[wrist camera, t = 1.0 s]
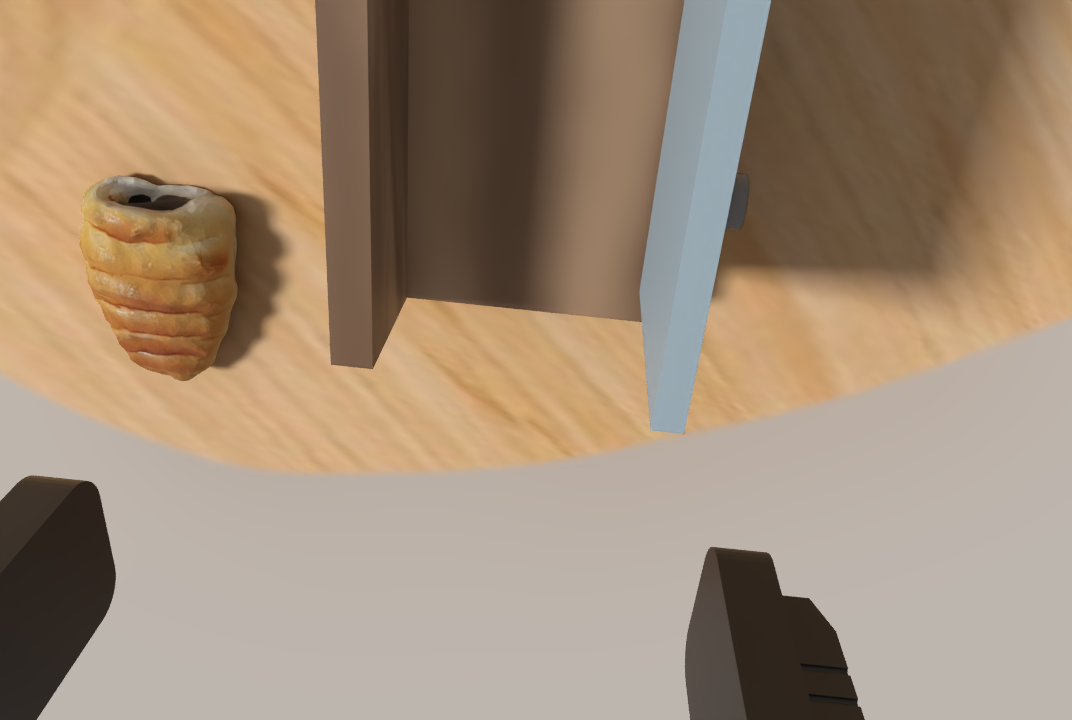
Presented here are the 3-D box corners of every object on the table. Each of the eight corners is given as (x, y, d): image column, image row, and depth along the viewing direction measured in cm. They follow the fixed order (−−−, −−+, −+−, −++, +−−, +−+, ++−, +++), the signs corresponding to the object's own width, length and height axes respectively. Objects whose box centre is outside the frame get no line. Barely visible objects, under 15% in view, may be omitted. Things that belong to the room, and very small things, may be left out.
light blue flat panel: (639, 291, 34) (650, 430, 26) (695, -69, 28) (734, -44, 19) (684, 296, 34) (710, 436, 26) (749, -63, 28) (815, -37, 19)
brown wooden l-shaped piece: (722, -118, 30) (762, -117, 22) (654, 293, 38) (667, 400, 30) (384, -150, 30) (308, -159, 23) (387, 265, 38) (331, 364, 31)
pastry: (253, 370, 42) (222, 412, 39) (118, 350, 42) (75, 391, 39) (243, 185, 37) (207, 215, 34) (90, 164, 37) (39, 192, 34)
